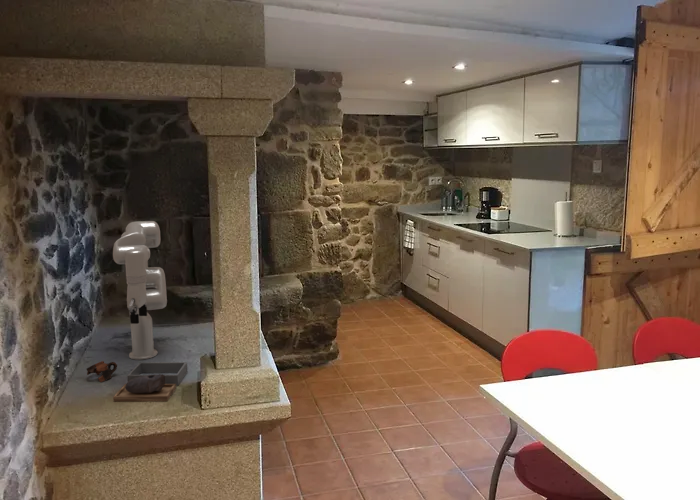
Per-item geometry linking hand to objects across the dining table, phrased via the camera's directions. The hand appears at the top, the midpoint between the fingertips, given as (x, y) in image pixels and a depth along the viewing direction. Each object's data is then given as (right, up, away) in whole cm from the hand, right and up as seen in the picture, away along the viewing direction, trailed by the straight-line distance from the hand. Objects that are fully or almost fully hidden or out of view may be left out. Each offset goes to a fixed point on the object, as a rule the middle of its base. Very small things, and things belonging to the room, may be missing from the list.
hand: (139, 319), depth 228 cm
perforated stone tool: (+6, -28, -8) cm, 30 cm away
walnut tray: (+6, -29, -8) cm, 31 cm away
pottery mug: (-19, -26, +9) cm, 33 cm away
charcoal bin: (+5, -26, +7) cm, 28 cm away
